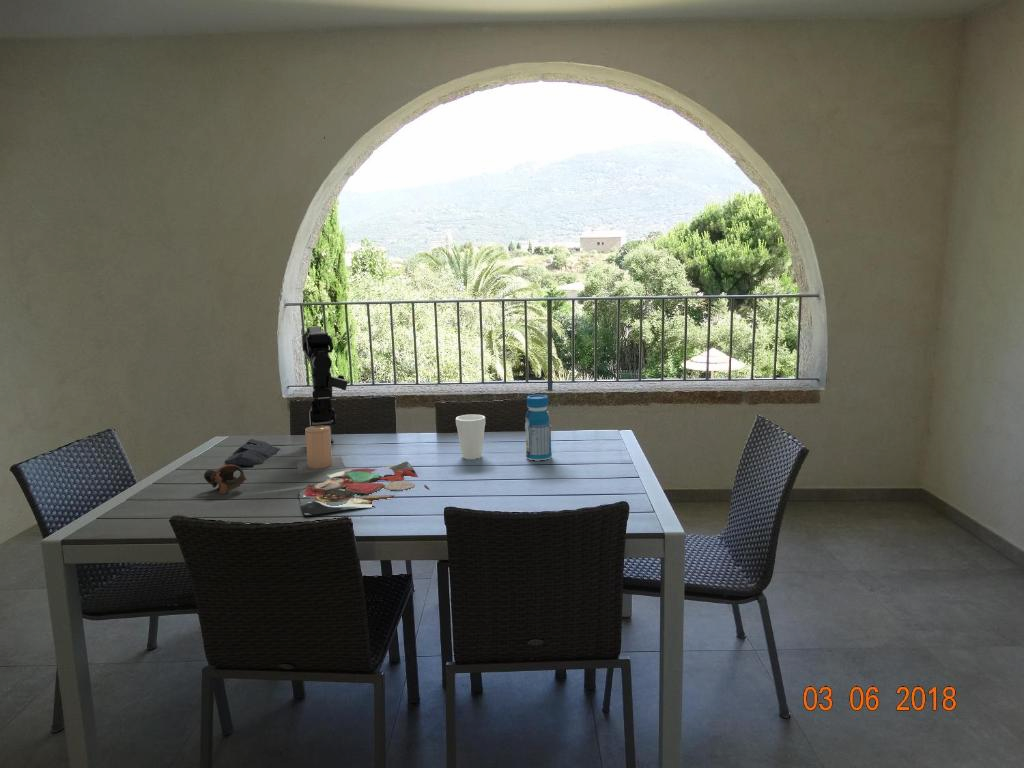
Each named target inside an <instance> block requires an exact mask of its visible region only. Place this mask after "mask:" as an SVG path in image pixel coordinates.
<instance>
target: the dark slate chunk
mask: <svg viewBox="0 0 1024 768" xmlns="http://www.w3.org/2000/svg"><path fill="white" fill-rule="evenodd" d="M279 450H281V448H278V447H276V446H272V445H270V444H269V443H268V442H266V441H263V440H256V439H253V438H251V439H249V440H248V441H246V442H245V443H244V444H243V445H241V446H240V447H239V448H238V449H235V451H233V453H232V455H230V456H228V457H227V459H225V460H224V464H225V465H237V466H239V467H255V466H258V465H262V464H263V463H265V461H267V460H268V459H270V458H272V457H273V456H275V455H276V454H277V452H278V451H279ZM277 455H278V454H277ZM277 455H276V456H277Z"/></svg>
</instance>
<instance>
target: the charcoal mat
mask: <svg viewBox="0 0 1024 768" xmlns="http://www.w3.org/2000/svg"><path fill="white" fill-rule="evenodd" d="M341 457H342V456H336V457H335V456H334V457H332V462H333V463H332V465H331V466H328V467H325V468H309V467H308V460H303V461H301V460H300V461H296V468H297V471H298V474H306V473H307V474H309V473H316V472H325V471H331V470H332V471H334V470H341V469H346V466H345V464H344V462H343V461H344V460H343V459H342V458H341Z"/></svg>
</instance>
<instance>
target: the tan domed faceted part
mask: <svg viewBox="0 0 1024 768" xmlns="http://www.w3.org/2000/svg"><path fill="white" fill-rule="evenodd" d="M304 435H305V446H306V447H305V449H306V459H307V460H306V461H308V467H309V468H325V467H328V466H331V465H332V463H333V462H332V458H333V453H332V451H333V450H332V443H331V437H332V435H331V436H330V427H329V426H326V425H317V426H307V427H305V432H304Z"/></svg>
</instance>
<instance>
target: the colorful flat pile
mask: <svg viewBox="0 0 1024 768" xmlns="http://www.w3.org/2000/svg"><path fill="white" fill-rule="evenodd" d="M381 469H388V470H392V472H393V474H394V475H392V474H384V475H383V476H381V475H380V474H379V473H374V471H377V470H381ZM326 476H327V477H329V478H327V479H326V480H325V481H323V482H320V483H315V484H316V485H315V484H314V485H312V486H313V487H311V486H308V487H309V488H307V487H306V488H307V489H306V491H305V493H304V494H303V495H300V496H301V497H302V498H303V497H309V498H311V499H312V498H313V500H314V501H312V502H308V503H304V504H300V506H301V510H302V512H304V513H309V514H315V515H319V514H327V513H334V512H339V511H348V510H353V509H359V508H360V509H361V508H362V509H363V508H373V507H372V501H373V500H378V501H380V500H379V499H385V500H388V499H387V498H393V497H394V496H395V495H392V494H379V495H377V494H375V493H374V492H376V493H378V492H377V491H379V492H381V491H382V490H384V489H387V490H390V491H389V492H404V491H403V490H406V491H409V490H412V489H414V488H415V487H416V484H414V482H411V481H408V480H406V477H404V476H411V477H412V478H419V476H418V474H417V473H416V470H415V468H414V467H413V466H412V465H411V464H410V462H408V461H403V462H400V463H395V464H392V465H387V466H382V467H371V468H368V467H367V468H365V467H364V468H355V469H354V468H353V469H347V470H343V471H337V472H336V471H335V472H333V473H327V474H326ZM411 477H410V478H411ZM404 479H405V480H404ZM378 480H379V481H387V480H388V481H391V482H388V481H387V482H388V483H386V484H383V483H380V482H379V481H378ZM402 480H404V481H402ZM376 481H377V482H376ZM394 481H395V482H394ZM372 482H373V483H372ZM423 487H424V488H425V489H426V490H429V491H431V489H430V488H429V487H428V486H427V484H424V485H423ZM382 488H384V489H382ZM411 488H412V489H411ZM339 489H345V491H342V490H339ZM381 489H382V490H381ZM408 489H409V490H408ZM380 490H381V491H380ZM387 490H386V491H387ZM372 493H374V494H375V495H374V494H372ZM316 494H318V495H316ZM355 494H357V495H356V496H354V495H355ZM369 494H371V495H369ZM359 495H368V496H359ZM353 497H354V498H353ZM350 498H351V499H350ZM349 499H350V500H349ZM347 500H348V502H347V503H346V504H343V505H339V506H330V505H327V504H326V502H343V501H347ZM324 502H325V503H324ZM304 513H303V514H304Z"/></svg>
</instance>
